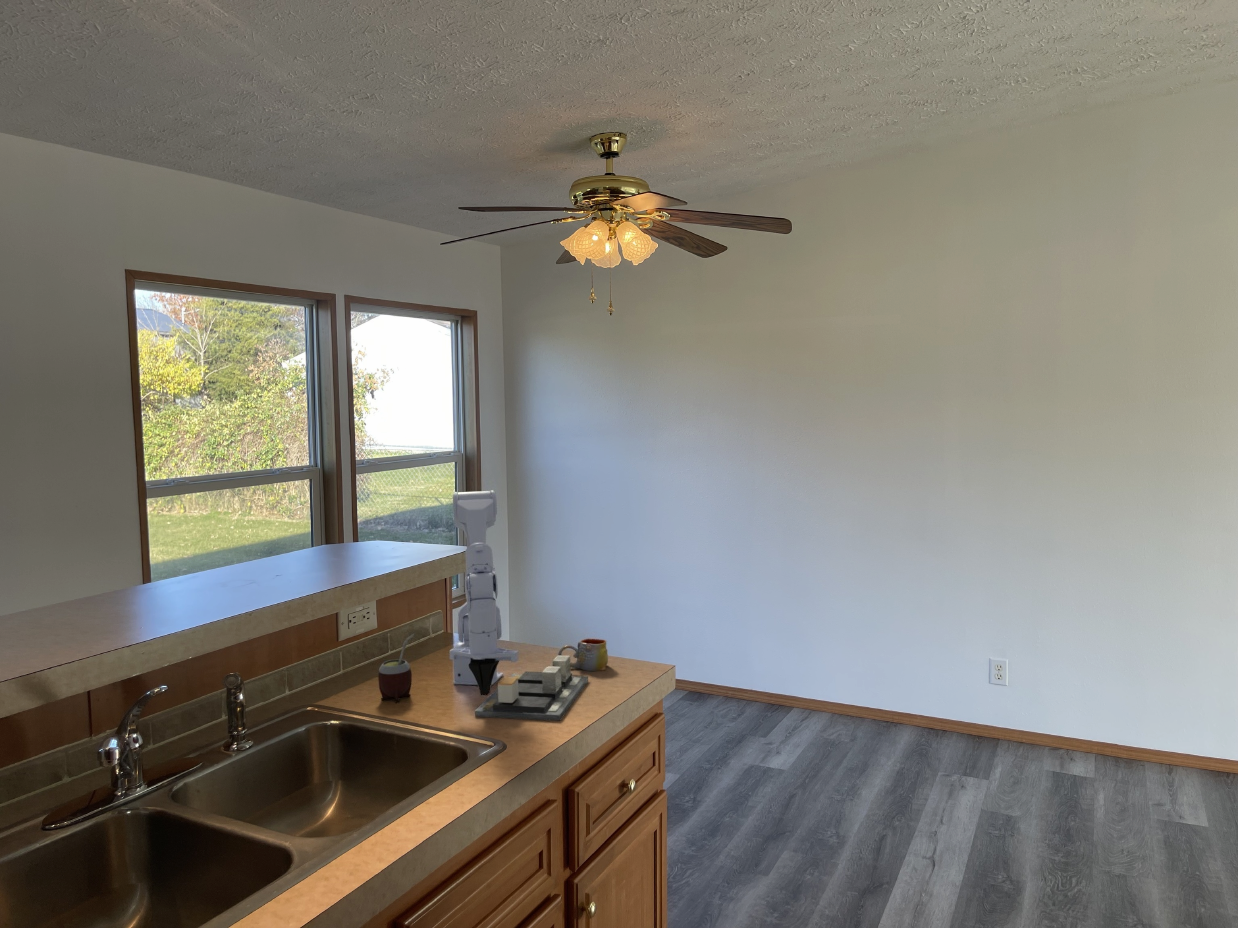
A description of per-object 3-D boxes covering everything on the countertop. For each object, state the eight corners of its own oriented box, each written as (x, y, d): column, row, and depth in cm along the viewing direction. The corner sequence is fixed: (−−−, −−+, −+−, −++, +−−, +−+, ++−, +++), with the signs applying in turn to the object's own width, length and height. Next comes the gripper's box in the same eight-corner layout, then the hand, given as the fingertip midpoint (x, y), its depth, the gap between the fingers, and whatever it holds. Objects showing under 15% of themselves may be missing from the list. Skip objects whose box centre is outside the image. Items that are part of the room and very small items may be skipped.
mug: (607, 662, 203) (607, 636, 203) (608, 671, 197) (608, 643, 196) (559, 664, 203) (558, 638, 203) (558, 673, 196) (557, 645, 196)
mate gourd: (378, 695, 184) (375, 629, 183) (414, 690, 187) (411, 625, 186) (380, 706, 177) (377, 637, 176) (418, 701, 180) (415, 633, 179)
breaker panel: (474, 716, 170) (473, 685, 169) (513, 678, 193) (512, 651, 193) (559, 720, 166) (558, 689, 166) (588, 681, 190) (587, 653, 189)
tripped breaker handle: (498, 702, 171) (497, 683, 170) (504, 695, 175) (504, 676, 174) (512, 702, 170) (511, 683, 170) (518, 695, 174) (517, 677, 174)
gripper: (442, 633, 170) (445, 698, 171) (509, 636, 167) (512, 701, 168) (456, 624, 177) (458, 687, 178) (520, 626, 174) (523, 690, 175)
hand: (485, 693), depth 173 cm, fingers closed
